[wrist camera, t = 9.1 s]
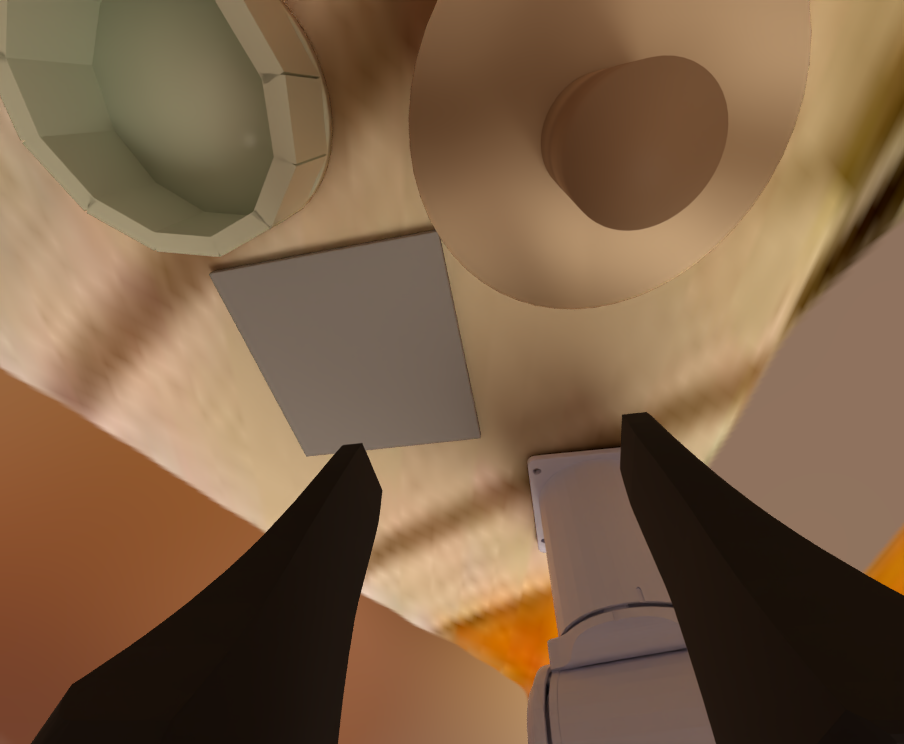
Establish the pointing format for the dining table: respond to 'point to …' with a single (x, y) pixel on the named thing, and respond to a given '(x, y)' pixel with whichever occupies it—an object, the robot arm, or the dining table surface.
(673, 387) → the dining table surface
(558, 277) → the lid
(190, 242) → the sage bowl
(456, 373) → the slate mat
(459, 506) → the dining table surface
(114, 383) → the dining table surface
